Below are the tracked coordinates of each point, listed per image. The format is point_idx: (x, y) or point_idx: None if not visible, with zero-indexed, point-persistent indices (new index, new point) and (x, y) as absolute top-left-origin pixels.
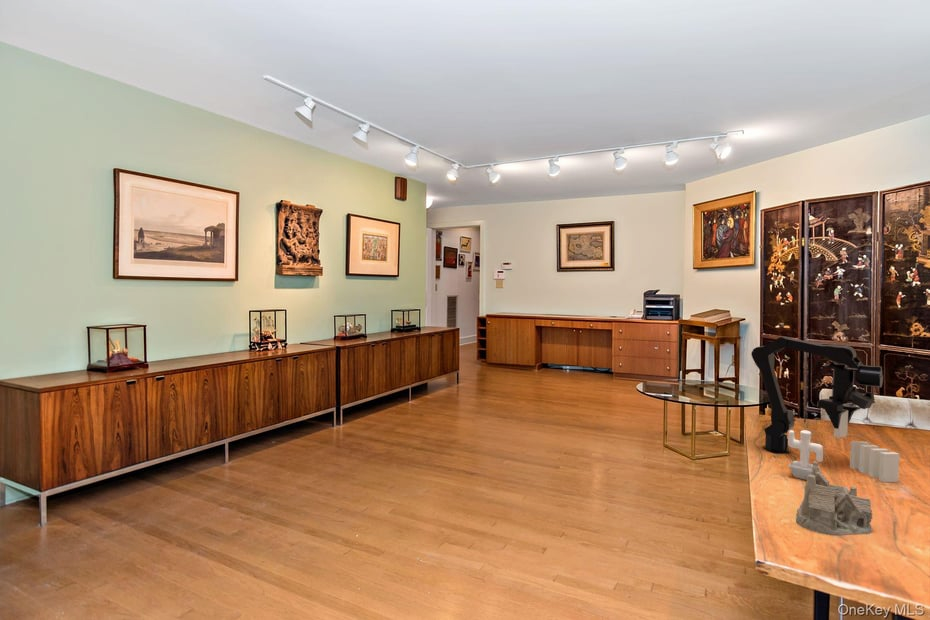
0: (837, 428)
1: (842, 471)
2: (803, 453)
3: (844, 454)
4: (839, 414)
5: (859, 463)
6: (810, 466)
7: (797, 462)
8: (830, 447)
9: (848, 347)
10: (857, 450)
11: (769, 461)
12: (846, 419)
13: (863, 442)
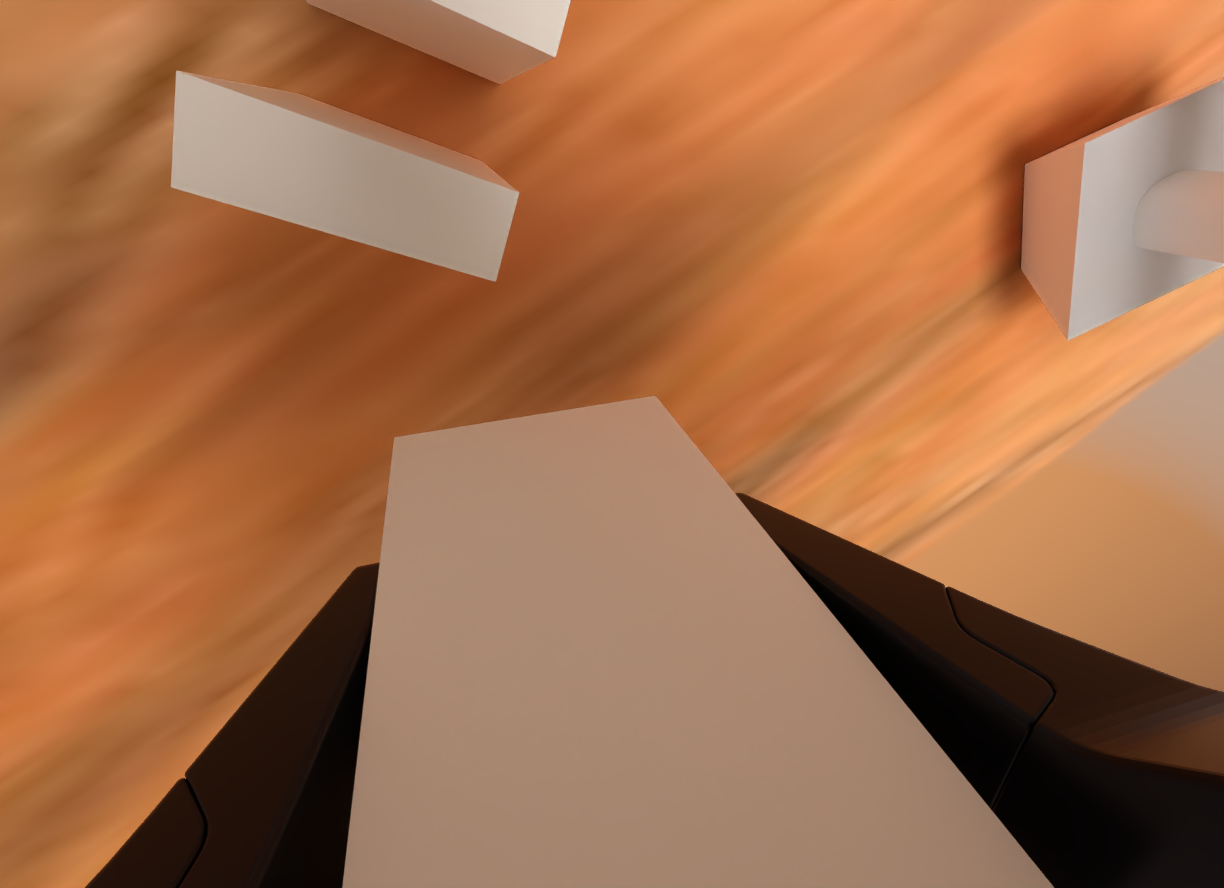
0: (741, 495)
1: (661, 164)
2: None
3: (96, 516)
4: (1221, 705)
5: (509, 78)
6: (1147, 178)
7: (1103, 296)
8: (56, 684)
9: None
10: (454, 161)
11: (905, 500)
12: (454, 692)
13: (295, 146)
